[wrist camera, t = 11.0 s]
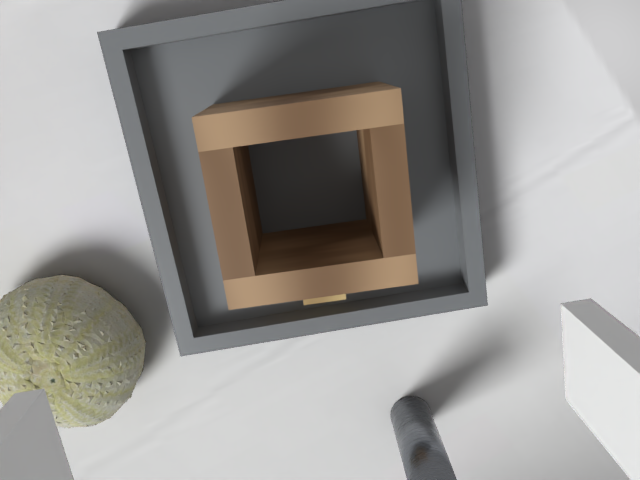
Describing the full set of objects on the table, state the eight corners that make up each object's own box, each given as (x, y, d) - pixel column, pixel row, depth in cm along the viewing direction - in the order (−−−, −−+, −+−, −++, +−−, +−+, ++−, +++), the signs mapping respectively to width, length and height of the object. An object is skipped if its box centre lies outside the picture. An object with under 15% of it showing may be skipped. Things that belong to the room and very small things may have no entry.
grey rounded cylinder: (431, 427, 40) (464, 515, 32) (393, 433, 40) (416, 523, 32) (427, 393, 39) (459, 475, 32) (388, 400, 39) (410, 483, 32)
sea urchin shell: (73, 238, 33) (101, 367, 30) (151, 283, 40) (182, 393, 37) (-62, 313, 34) (-51, 448, 31) (37, 345, 41) (56, 459, 37)
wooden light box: (378, 81, 32) (401, 88, 26) (398, 278, 36) (422, 329, 29) (212, 104, 32) (191, 117, 26) (248, 299, 36) (237, 355, 29)
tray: (475, 289, 37) (487, 305, 35) (187, 337, 37) (180, 356, 35) (446, -24, 32) (458, -30, 30) (111, 33, 32) (97, 32, 30)
